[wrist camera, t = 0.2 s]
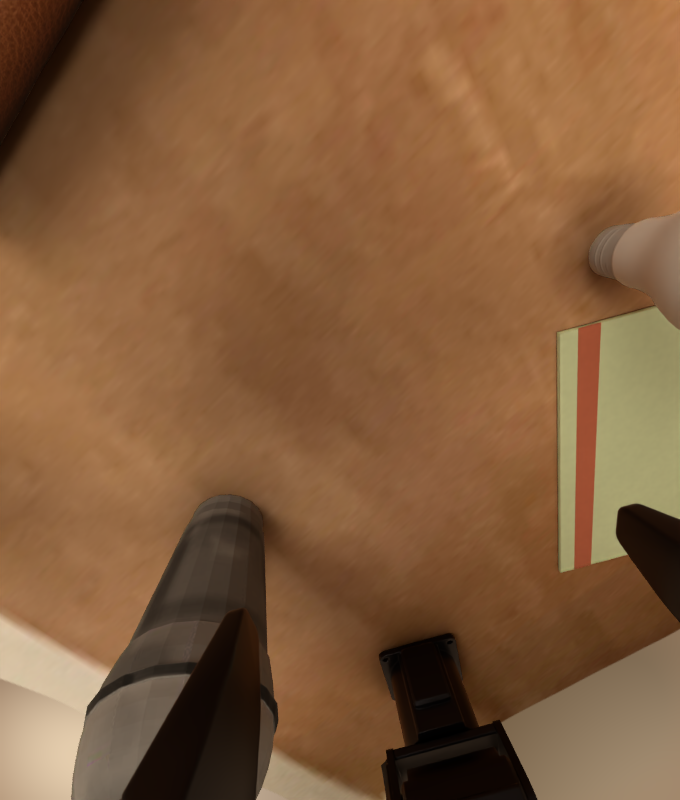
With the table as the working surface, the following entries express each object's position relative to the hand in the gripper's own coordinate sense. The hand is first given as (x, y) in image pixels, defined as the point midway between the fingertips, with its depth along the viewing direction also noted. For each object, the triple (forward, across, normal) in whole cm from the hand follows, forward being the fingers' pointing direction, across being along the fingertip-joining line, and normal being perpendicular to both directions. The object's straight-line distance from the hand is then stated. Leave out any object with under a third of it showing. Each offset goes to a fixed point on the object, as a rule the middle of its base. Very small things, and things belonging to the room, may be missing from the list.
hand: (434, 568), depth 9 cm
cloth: (+14, -20, +11) cm, 27 cm away
